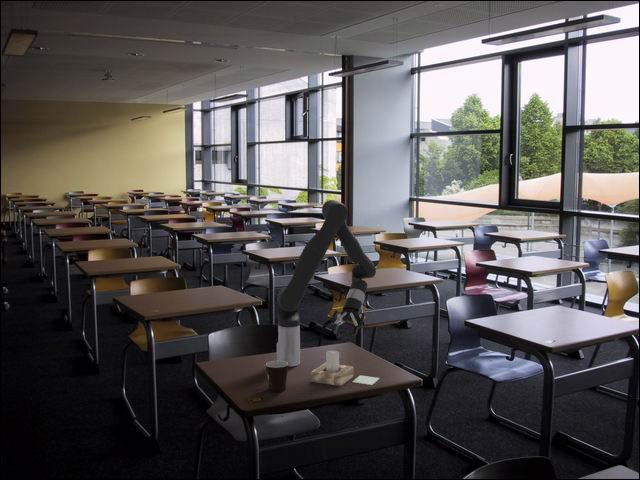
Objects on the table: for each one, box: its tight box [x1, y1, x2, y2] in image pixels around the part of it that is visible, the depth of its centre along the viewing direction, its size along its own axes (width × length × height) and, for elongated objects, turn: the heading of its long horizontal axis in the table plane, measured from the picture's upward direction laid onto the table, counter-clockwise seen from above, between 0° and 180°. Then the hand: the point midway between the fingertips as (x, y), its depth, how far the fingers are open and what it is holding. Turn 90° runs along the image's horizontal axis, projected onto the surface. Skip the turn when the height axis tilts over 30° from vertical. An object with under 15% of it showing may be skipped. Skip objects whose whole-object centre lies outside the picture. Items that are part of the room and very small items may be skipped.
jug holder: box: [310, 362, 354, 387], centre depth 258 cm, size 13×13×4 cm
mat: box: [351, 375, 380, 386], centre depth 256 cm, size 8×8×1 cm
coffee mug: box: [265, 360, 289, 393], centre depth 248 cm, size 12×9×10 cm
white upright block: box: [325, 350, 340, 373], centre depth 257 cm, size 5×7×11 cm
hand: (343, 334), depth 267 cm, fingers open, 8 cm apart
